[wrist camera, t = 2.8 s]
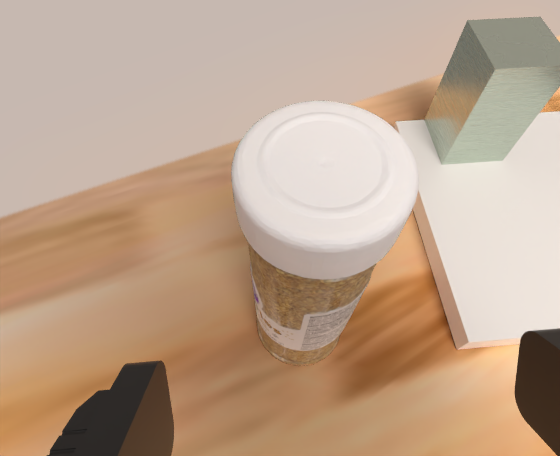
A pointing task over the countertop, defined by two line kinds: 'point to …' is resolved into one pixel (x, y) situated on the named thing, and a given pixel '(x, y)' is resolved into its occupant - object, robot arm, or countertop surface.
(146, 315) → the countertop surface
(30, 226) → the countertop surface
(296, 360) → the spice jar
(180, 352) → the countertop surface
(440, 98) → the tea tin
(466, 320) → the tray
